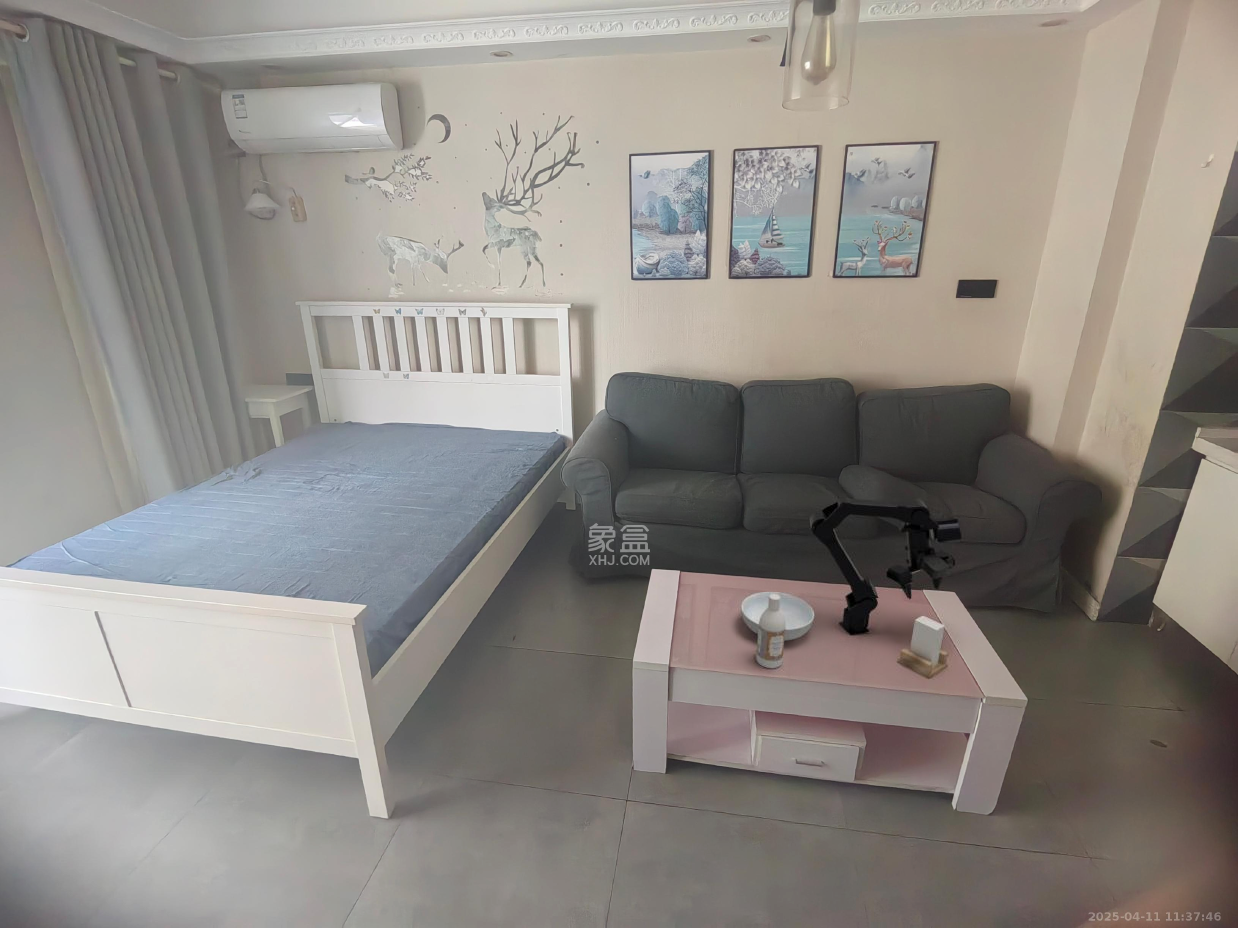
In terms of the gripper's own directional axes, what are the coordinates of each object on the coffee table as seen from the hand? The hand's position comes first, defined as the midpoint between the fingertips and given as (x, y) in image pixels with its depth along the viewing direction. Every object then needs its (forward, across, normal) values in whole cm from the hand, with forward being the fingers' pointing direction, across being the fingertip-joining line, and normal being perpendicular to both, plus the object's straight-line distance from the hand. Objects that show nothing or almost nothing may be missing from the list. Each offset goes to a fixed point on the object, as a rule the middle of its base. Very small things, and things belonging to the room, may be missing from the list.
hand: (923, 593), depth 175 cm
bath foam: (+5, -49, +2) cm, 49 cm away
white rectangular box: (+13, -10, -10) cm, 19 cm away
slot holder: (+13, -10, -10) cm, 20 cm away
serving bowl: (+6, -40, +15) cm, 43 cm away
